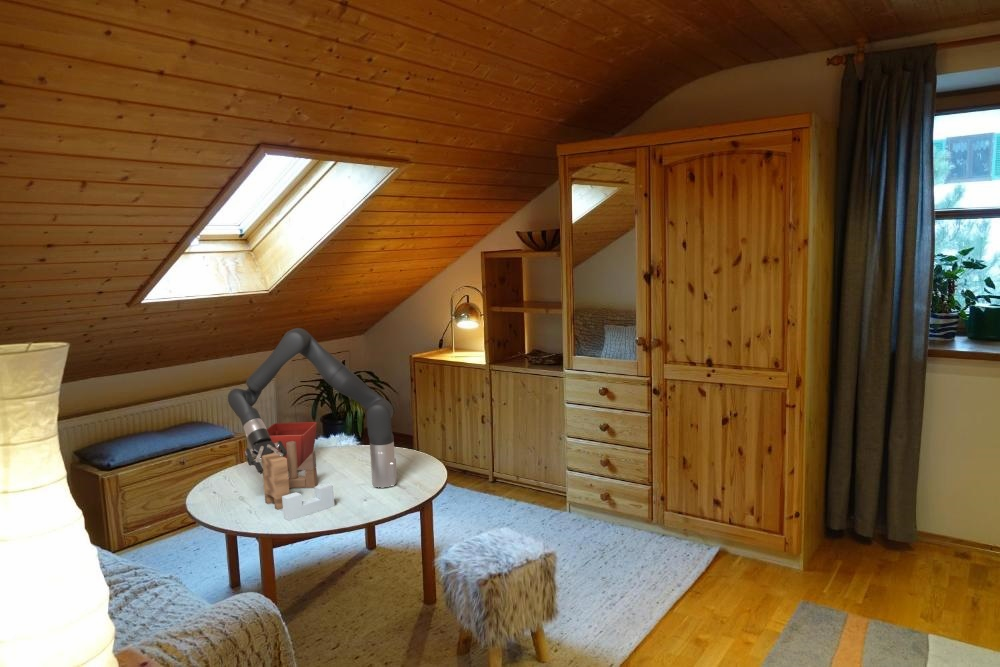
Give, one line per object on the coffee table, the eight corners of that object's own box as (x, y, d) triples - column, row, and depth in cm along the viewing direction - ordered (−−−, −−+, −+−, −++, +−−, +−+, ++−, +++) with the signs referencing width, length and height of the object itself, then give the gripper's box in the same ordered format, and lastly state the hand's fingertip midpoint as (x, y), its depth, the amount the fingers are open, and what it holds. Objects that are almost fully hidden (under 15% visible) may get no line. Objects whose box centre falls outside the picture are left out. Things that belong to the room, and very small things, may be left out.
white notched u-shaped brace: (329, 503, 262) (328, 482, 261) (334, 506, 259) (333, 485, 258) (283, 518, 250) (282, 496, 248) (288, 521, 247) (286, 498, 246)
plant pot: (260, 475, 295) (257, 435, 293) (277, 460, 314) (274, 422, 312) (306, 474, 294) (303, 434, 292) (320, 459, 313) (317, 422, 311)
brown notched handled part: (315, 488, 278) (311, 443, 276) (287, 488, 279) (284, 443, 276) (317, 484, 282) (314, 440, 279) (291, 485, 282) (287, 441, 280)
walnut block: (265, 502, 265) (261, 455, 262) (278, 499, 268) (274, 452, 265) (277, 510, 257) (273, 461, 255) (290, 506, 261) (286, 458, 258)
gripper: (240, 432, 262) (257, 469, 255) (277, 423, 271) (294, 459, 265) (236, 443, 266) (251, 480, 260) (272, 434, 276) (288, 470, 269)
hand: (273, 469), depth 262 cm, fingers open, 8 cm apart
